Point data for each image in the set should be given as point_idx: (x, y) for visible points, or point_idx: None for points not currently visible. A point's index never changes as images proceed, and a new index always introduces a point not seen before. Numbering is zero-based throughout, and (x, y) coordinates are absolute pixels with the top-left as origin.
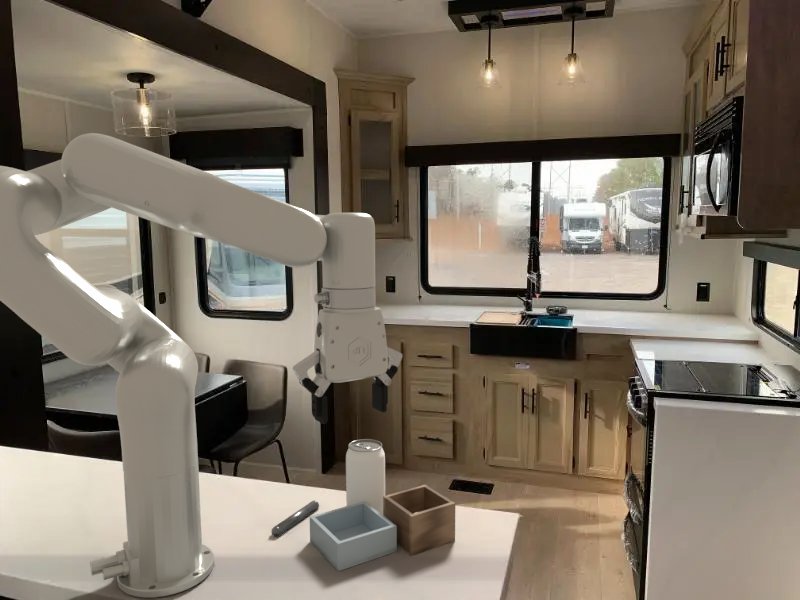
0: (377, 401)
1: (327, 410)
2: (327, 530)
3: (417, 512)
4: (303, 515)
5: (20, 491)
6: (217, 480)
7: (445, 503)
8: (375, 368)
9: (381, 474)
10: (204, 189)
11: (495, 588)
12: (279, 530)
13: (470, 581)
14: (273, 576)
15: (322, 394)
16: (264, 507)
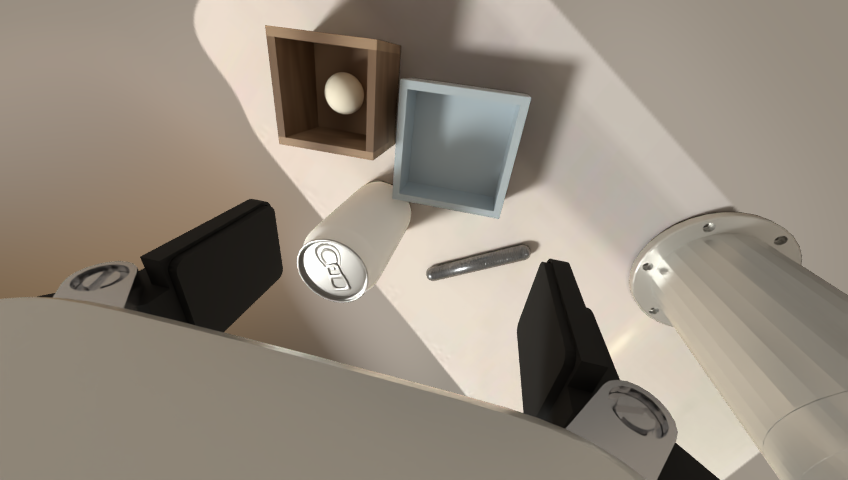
0: (253, 257)
1: (553, 294)
2: (510, 156)
3: (336, 100)
4: (465, 260)
5: None
6: (486, 401)
7: (281, 55)
8: (8, 370)
9: (339, 210)
10: None
11: None
12: (522, 248)
13: None
14: (610, 156)
15: (607, 388)
16: (484, 317)
